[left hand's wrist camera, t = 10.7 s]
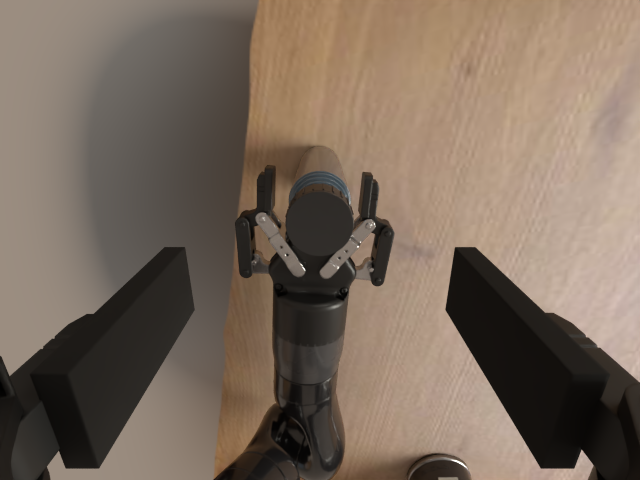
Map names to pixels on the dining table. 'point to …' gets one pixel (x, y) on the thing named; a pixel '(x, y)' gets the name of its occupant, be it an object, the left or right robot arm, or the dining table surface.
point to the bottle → (319, 171)
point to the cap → (319, 220)
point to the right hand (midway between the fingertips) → (318, 170)
